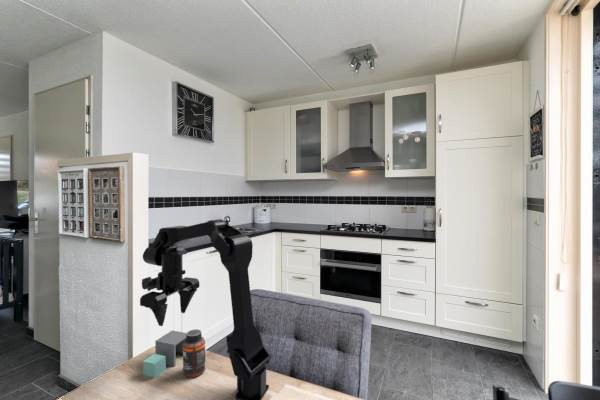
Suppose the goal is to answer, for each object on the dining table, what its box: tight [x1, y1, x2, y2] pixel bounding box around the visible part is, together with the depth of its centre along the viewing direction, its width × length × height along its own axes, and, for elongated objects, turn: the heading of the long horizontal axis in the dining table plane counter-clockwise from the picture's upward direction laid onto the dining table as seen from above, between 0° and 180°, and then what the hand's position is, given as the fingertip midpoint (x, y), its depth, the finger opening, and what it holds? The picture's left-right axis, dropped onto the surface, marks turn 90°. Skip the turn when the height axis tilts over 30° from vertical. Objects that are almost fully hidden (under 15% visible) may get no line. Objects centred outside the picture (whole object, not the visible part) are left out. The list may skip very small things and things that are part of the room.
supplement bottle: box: [182, 328, 206, 378], centre depth 82 cm, size 6×6×11 cm
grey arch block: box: [155, 329, 187, 368], centre depth 89 cm, size 7×7×6 cm
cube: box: [142, 353, 167, 379], centre depth 82 cm, size 4×4×4 cm
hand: (172, 319), depth 88 cm, fingers open, 9 cm apart
